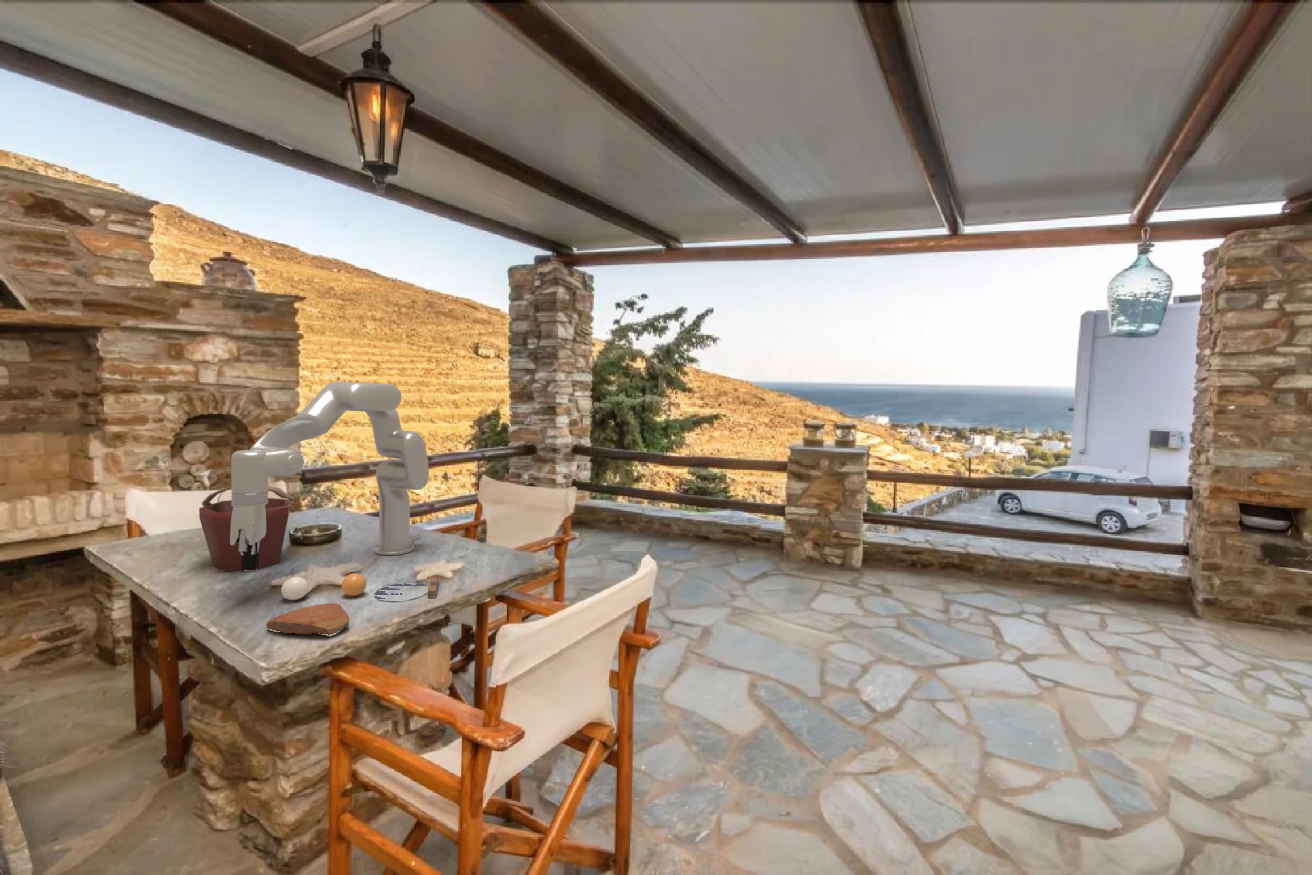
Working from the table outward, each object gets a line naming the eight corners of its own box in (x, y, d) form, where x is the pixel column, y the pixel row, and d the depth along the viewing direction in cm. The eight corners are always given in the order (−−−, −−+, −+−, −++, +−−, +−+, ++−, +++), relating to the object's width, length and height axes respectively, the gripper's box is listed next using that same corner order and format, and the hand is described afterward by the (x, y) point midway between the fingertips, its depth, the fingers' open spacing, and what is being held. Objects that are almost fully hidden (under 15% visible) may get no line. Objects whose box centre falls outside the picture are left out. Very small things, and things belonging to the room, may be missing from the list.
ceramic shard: (285, 629, 117) (263, 618, 126) (291, 657, 117) (269, 644, 127) (356, 601, 128) (331, 593, 137) (362, 627, 129) (337, 617, 138)
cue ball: (300, 593, 148) (299, 571, 147) (313, 598, 145) (313, 576, 145) (276, 600, 143) (276, 578, 142) (289, 605, 140) (289, 582, 139)
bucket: (311, 556, 179) (310, 481, 176) (255, 579, 157) (253, 494, 154) (242, 550, 181) (240, 476, 179) (178, 572, 159) (175, 488, 157)
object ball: (357, 589, 152) (357, 568, 152) (371, 594, 150) (371, 573, 149) (336, 596, 147) (336, 575, 146) (350, 601, 144) (350, 579, 144)
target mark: (407, 579, 161) (407, 579, 161) (440, 589, 155) (440, 588, 155) (362, 594, 149) (362, 594, 149) (397, 606, 143) (397, 605, 143)
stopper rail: (431, 582, 160) (431, 576, 160) (438, 582, 160) (438, 575, 160) (427, 598, 148) (427, 591, 148) (435, 597, 149) (435, 590, 149)
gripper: (244, 493, 144) (244, 561, 146) (219, 504, 130) (219, 579, 132) (277, 493, 147) (277, 559, 148) (255, 504, 133) (255, 577, 134)
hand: (250, 568), depth 140 cm, fingers closed
